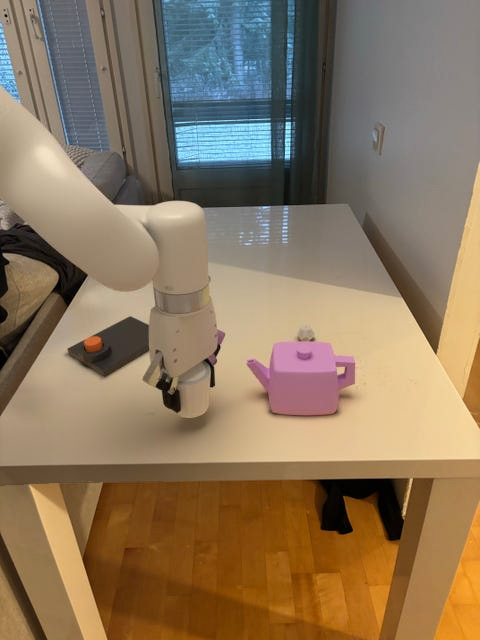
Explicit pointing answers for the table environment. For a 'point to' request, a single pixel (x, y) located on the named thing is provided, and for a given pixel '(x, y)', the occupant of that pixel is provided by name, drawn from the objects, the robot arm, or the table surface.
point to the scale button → (93, 344)
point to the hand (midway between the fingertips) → (190, 394)
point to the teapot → (304, 377)
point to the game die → (305, 333)
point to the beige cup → (194, 390)
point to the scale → (115, 346)
